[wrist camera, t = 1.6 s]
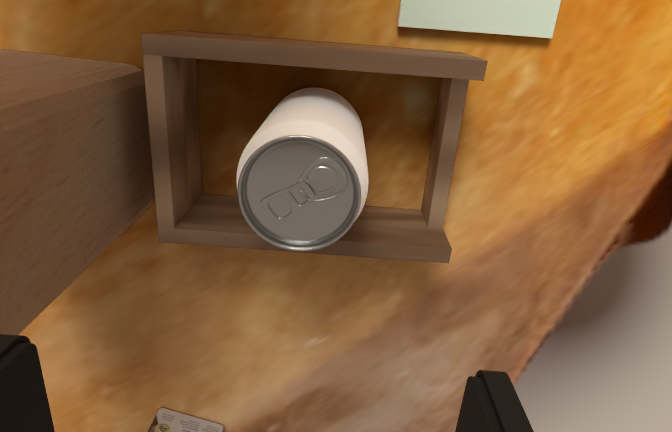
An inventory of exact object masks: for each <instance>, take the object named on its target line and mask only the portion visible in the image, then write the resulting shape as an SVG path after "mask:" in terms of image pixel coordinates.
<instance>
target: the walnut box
mask: <svg viewBox="0 0 672 432" xmlns="http://www.w3.org/2000/svg"><path fill="white" fill-rule="evenodd" d="M141 41H142V52H143V64H144V75H145V87H146V99H147V110H148V122H149V133H150V145H151V156H152V168H153V179H154V191H155V203H156V214H157V226H158V237H159V242H168V243H181V244H195V245H208V246H222V247H236V248H249V249H263V250H276V251H290V252H304V253H317V254H331V255H344V256H358V257H372V258H385V259H399V260H412V261H426V262H440V263H449V260H450V255H451V250H452V249H451V246H450V244H449V242H448V240H447V237H446V235H445V233H444V231H443V223H444V217H445V211H446V206H447V200H448V195H449V189H450V183H451V178H452V172H453V166H454V161H455V155H456V150H457V144H458V138H459V133H460V127H461V121H462V116H463V110H464V105H465V99H466V93H467V88H468V82H469V80H480V81H484V76H485V71H486V65H487V61H486V60H483V59H480V58H477V57H474V56H471V55H468V54H465V53H462V52H449V51H437V50H424V49H411V48H398V47H385V46H372V45H359V44H346V43H333V42H320V41H308V40H295V39H282V38H269V37H256V36H243V35H230V34H217V33H204V32H191V31H169V32H158V33H148V34H141ZM196 59H208V60H221V61H234V62H247V63H260V64H273V65H286V66H299V67H312V68H325V69H338V70H350V71H363V72H376V73H389V74H402V75H415V76H428V77H441V78H442V79H441V86H440V92H439V99H438V105H437V111H436V118H435V124H434V131H433V137H432V144H431V150H430V156H429V163H428V169H427V176H426V182H425V189H424V195H423V202H422V208H421V210H412V209H399V208H385V207H372V206H364V207H363V209H362V211H361V213H360V215H359V216H358V218H357V219H356V220H355V222H354V223H353V225H352V226H351V228H350V229H349V230H348V231H347V232H346V233H345V234H344V235H343V236H342V237H341V238H340V239H338V240H337V241H336V242H334V243H332V244H330V245H328V246H326V247H323V248H320V249H316V250H311V251H292V250H287V249H283V248H280V247H277V246H275V245H273V244H271V243H269V242H267V241H266V240H264V239H263V238H261V237H260V236H259V235H258V234H257V233H256V232H255V231H254V230H253V229H252V228H251V227H250V226H249V224H248V223H247V221H246V220H245V218H244V216H243V214H242V211H241V209H240V205H239V201H238V197H237V196H224V195H211V194H202V183H201V160H200V138H199V115H198V92H197V70H196Z"/></svg>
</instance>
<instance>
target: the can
mask: <svg viewBox="0 0 672 432" xmlns="http://www.w3.org/2000/svg"><path fill="white" fill-rule="evenodd" d="M236 183H237V191H238V201H239V205H240V209H241V211H242V214H243V216H244V218H245V220H246V221H247V223H248V224H249V226H250V227H251V228H252V229H253V230H254V231H255V232H256V233H257V234H258V235H259V236H260V237H261V238H263V239H264V240H266V241H267V242H269V243H271V244H273V245H275V246H277V247H280V248H283V249H287V250H292V251H311V250H316V249H320V248H323V247H326V246H328V245H330V244H332V243H334V242H336V241H337V240H338V239H340V238H341V237H342V236H343V235H344V234H345V233H346V232H347V231H348V230H349V229H350V228H351V226H352V225H353V223H354V222H355V220H356V219H357V218H358V216H359V215H360V213H361V211H362V209H363V207H364V204H365V202H366V198H367V193H368V184H369V180H368V167H367V158H366V151H365V143H364V136H363V129H362V124H361V121H360V118H359V116H358V114H357V112H356V111H355V109H354V108H353V107H352V106H351V104H350V103H349V102H348V101H347V100H346V99H345V98H343V97H342V96H341V95H339V94H337V93H336V92H333V91H331V90H328V89H324V88H316V87H312V88H304V89H300V90H297V91H295V92H293V93H291V94H289V95H288V96H286V97H285V98H284V99H283V100H282V101H281V102H280V103H279V104H278V105H277V106H276V107H275V108H274V110H273V111H272V112H271V113H270V115H269V116H268V117H267V118H266V120H265V121H264V122H263V124H262V125H261V126H260V128H259V129H258V130H257V132H256V133H255V134H254V136H253V137H252V138H251V140H250V141H249V143H248V144H247V146H246V147H245V149H244V151H243V153H242V155H241V158H240V161H239V164H238V168H237V176H236Z"/></svg>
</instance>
